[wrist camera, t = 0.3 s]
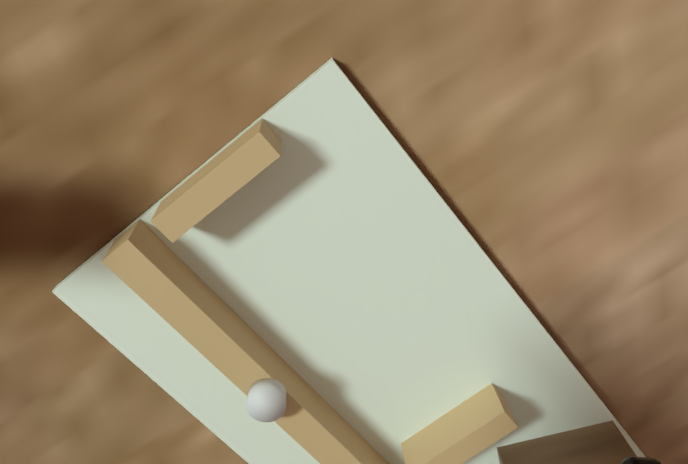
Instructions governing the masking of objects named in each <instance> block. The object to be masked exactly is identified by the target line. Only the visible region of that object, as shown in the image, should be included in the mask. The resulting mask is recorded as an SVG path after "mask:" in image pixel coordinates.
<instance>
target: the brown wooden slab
mask: <svg viewBox="0 0 688 464" xmlns="http://www.w3.org/2000/svg"><path fill="white" fill-rule="evenodd" d="M497 452H498V457H499V463H500V464H621V463H622V461H623V460H624V459H625V458H627V457H629V456H635V457H637V456H636V454H635V453H634V451H633V450H632V448H631V447H630V445H629V444H628V442H627V441H626V439H625V438H624V436H623V435H622V434H621V432H620V431H619V429H618V428H617V426H616V425H615V423H614V422H613V420H612V421H608V422H603V423H599V424H595V425H591V426H586V427H582V428H578V429H573V430H569V431H565V432H561V433H556V434H552V435H548V436H544V437H539V438H535V439H531V440H526V441H522V442H518V443H514V444H509V445H505V446H501V447H497Z"/></svg>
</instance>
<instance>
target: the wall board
mask: <svg viewBox="0 0 688 464" xmlns="http://www.w3.org/2000/svg"><path fill="white" fill-rule="evenodd" d="M52 292H53V293H54V294H55V295H56V296H57V297H58V298H60V299H61V300H62V301H63V302H64V303H65V304H66V305H68V306H69V307H70V308H71V309H72V310H73V311H74V312H76V313H77V314H78V315H79V316H80V317H81V318H83V319H84V320H85V321H86V322H87V323H88V324H89V325H91V326H92V327H93V328H94V329H95V330H96V331H97V332H99V333H100V334H101V335H102V336H103V337H104V338H105V339H107V340H108V341H109V342H110V343H111V344H112V345H113V346H115V347H116V348H117V349H118V350H119V351H120V352H121V353H123V354H124V355H125V356H126V357H127V358H128V359H129V360H131V361H132V362H133V363H134V364H135V365H136V366H138V367H139V368H140V369H141V370H142V371H143V372H144V373H146V374H147V375H148V376H149V377H150V378H151V379H152V380H154V381H155V382H156V383H157V384H158V385H159V386H160V387H162V388H163V389H164V390H165V391H166V392H167V393H168V394H170V395H171V396H172V397H173V398H174V399H175V400H176V401H178V402H179V403H180V404H181V405H182V406H183V407H184V408H186V409H187V410H188V411H189V412H190V413H191V414H193V415H194V416H195V417H196V418H197V419H198V420H199V421H201V422H202V423H203V424H204V425H205V426H206V427H207V428H209V429H210V430H211V431H212V432H213V433H214V434H215V435H217V436H218V437H219V438H220V439H221V440H222V441H223V442H225V443H226V444H227V445H228V446H229V447H230V448H231V449H233V450H234V451H235V452H236V453H237V454H238V455H240V456H241V457H242V458H243V459H244V460H245V461H246V462H248V463H249V464H500V463H499V457H498V452H497V447H501V446H505V445H509V444H514V443H518V442H522V441H526V440H531V439H535V438H539V437H544V436H548V435H552V434H556V433H561V432H565V431H569V430H573V429H578V428H582V427H586V426H591V425H595V424H599V423H603V422H608V421H612V420H613V422H614V423H615V425H616V426H617V428H618V429H619V431H620V432H621V434H622V435H623V436H624V438H625V439H626V441H627V442H628V444H629V445H630V447H631V448H632V450H633V451H634V453H635V454H636V456H637V457H645V455H644V454H643V453H642V451H641V450H640V449H639V448H638V446H637V445H636V444H635V443H634V441H633V440H632V439H631V437H630V436H629V435H628V434H627V432H626V431H625V430H624V429H623V427H622V426H621V425H620V423H619V422H618V421H617V420H616V418H615V417H614V416H613V415H612V413H611V412H610V411H609V409H608V408H607V407H606V406H605V404H604V403H603V402H602V401H601V399H600V398H599V397H598V395H597V394H596V393H595V392H594V390H593V389H592V388H591V387H590V385H589V384H588V383H587V381H586V380H585V379H584V378H583V376H582V375H581V374H580V373H579V371H578V370H577V369H576V367H575V366H574V365H573V364H572V362H571V361H570V360H569V359H568V357H567V356H566V355H565V353H564V352H563V351H562V350H561V348H560V347H559V346H558V345H557V343H556V342H555V341H554V339H553V338H552V337H551V336H550V334H549V333H548V332H547V331H546V329H545V328H544V327H543V326H542V324H541V323H540V322H539V320H538V319H537V318H536V317H535V315H534V314H533V313H532V312H531V310H530V309H529V308H528V306H527V305H526V304H525V303H524V301H523V300H522V299H521V298H520V296H519V295H518V294H517V292H516V291H515V290H514V289H513V287H512V286H511V285H510V284H509V282H508V281H507V280H506V278H505V277H504V276H503V275H502V273H501V272H500V271H499V270H498V268H497V267H496V266H495V264H494V263H493V262H492V261H491V259H490V258H489V257H488V256H487V254H486V253H485V252H484V250H483V249H482V248H481V247H480V245H479V244H478V243H477V242H476V240H475V239H474V238H473V236H472V235H471V234H470V233H469V231H468V230H467V229H466V228H465V226H464V225H463V224H462V222H461V221H460V220H459V219H458V217H457V216H456V215H455V214H454V212H453V211H452V210H451V208H450V207H449V206H448V205H447V203H446V202H445V201H444V200H443V198H442V197H441V196H440V194H439V193H438V192H437V191H436V189H435V188H434V187H433V186H432V184H431V183H430V182H429V180H428V179H427V178H426V177H425V175H424V174H423V173H422V172H421V170H420V169H419V168H418V166H417V165H416V164H415V163H414V161H413V160H412V159H411V158H410V156H409V155H408V154H407V152H406V151H405V150H404V149H403V147H402V146H401V145H400V144H399V142H398V141H397V140H396V138H395V137H394V136H393V135H392V133H391V132H390V131H389V130H388V128H387V127H386V126H385V125H384V123H383V122H382V121H381V119H380V118H379V117H378V116H377V114H376V113H375V112H374V111H373V109H372V108H371V107H370V105H369V104H368V103H367V102H366V100H365V99H364V98H363V97H362V95H361V94H360V93H359V91H358V90H357V89H356V88H355V86H354V85H353V84H352V83H351V81H350V80H349V79H348V77H347V76H346V75H345V74H344V72H343V71H342V70H341V69H340V67H339V66H338V65H337V63H336V62H335V61H334V60H333V58H331V59H330V60H328V61H327V62H326V63H325V64H324V65H322V66H321V67H320V68H319V69H317V70H316V71H315V72H314V73H313V74H311V75H310V76H309V77H308V78H307V79H305V80H304V81H303V82H302V83H301V84H299V85H298V86H297V87H296V88H294V89H293V90H292V91H291V92H290V93H288V94H287V95H286V96H285V97H284V98H282V99H281V100H280V101H279V102H278V103H276V104H275V105H274V106H273V107H272V108H270V109H269V110H268V111H267V112H265V113H264V114H263V115H262V116H261V117H259V118H258V119H257V120H256V121H255V122H253V123H252V124H251V125H250V126H249V127H247V128H246V129H245V130H244V131H242V132H241V133H240V134H239V135H238V136H236V137H235V138H234V139H233V140H232V141H230V142H229V143H228V144H227V145H226V146H224V147H223V148H222V149H221V150H220V151H218V152H217V153H216V154H215V155H213V156H212V157H211V158H210V159H209V160H207V161H206V162H205V163H204V164H203V165H201V166H200V167H199V168H198V169H197V170H195V171H194V172H193V173H192V174H190V175H189V176H188V177H187V178H186V179H184V180H183V181H182V182H181V183H180V184H178V185H177V186H176V187H175V188H174V189H172V190H171V191H170V192H169V193H168V194H166V195H165V196H164V197H163V198H161V199H160V200H159V201H158V202H157V203H155V204H154V205H153V206H152V207H151V208H149V209H148V210H147V211H146V212H145V213H143V214H142V215H141V216H140V217H138V218H137V219H136V220H135V221H134V222H132V223H131V224H130V225H129V226H128V227H126V228H125V229H124V230H123V231H122V232H120V233H119V234H118V235H117V236H116V237H114V238H113V239H112V240H111V241H109V242H108V243H107V244H106V245H105V246H103V247H102V248H101V249H100V250H99V251H97V252H96V253H95V254H94V255H93V256H91V257H90V258H89V259H88V260H86V261H85V262H84V263H83V264H82V265H80V266H79V267H78V268H77V269H76V270H74V271H73V272H72V273H71V274H70V275H68V276H67V277H66V278H65V279H64V280H62V281H61V282H60V283H59V284H57V285H56V287H55V288H54V289H53V291H52Z"/></svg>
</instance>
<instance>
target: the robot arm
mask: <svg viewBox="0 0 688 464" xmlns="http://www.w3.org/2000/svg"><path fill="white" fill-rule="evenodd" d="M621 464H662V463H660V462H659V461H658V460H656V459H653V458H647V457H635V456H629V457H627V458H625V459H624V460H623V461H622V463H621Z"/></svg>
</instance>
